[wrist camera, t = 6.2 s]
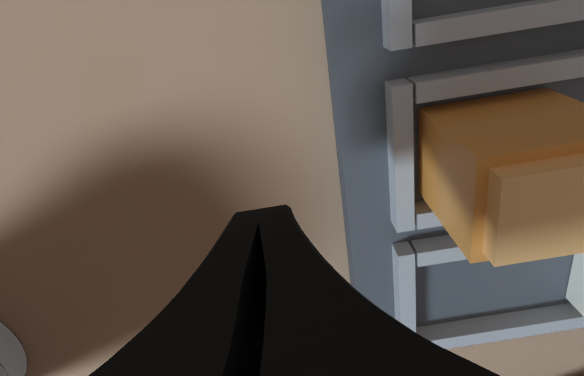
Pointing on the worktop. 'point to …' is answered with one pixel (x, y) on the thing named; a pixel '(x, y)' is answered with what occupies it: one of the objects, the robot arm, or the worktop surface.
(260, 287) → the robot arm
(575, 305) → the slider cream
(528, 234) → the slider orange
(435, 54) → the panel
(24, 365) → the cup
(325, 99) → the worktop surface
